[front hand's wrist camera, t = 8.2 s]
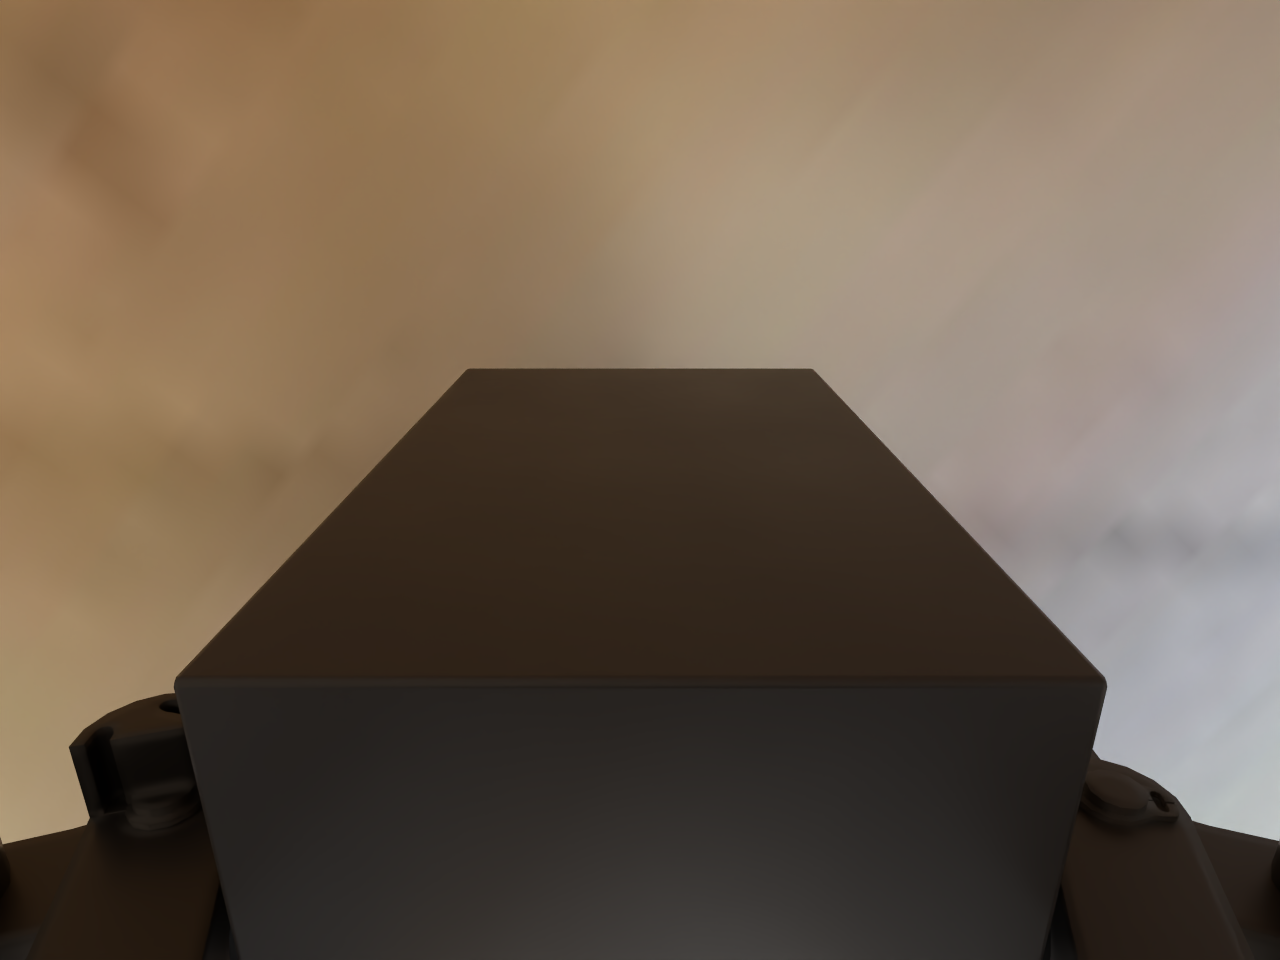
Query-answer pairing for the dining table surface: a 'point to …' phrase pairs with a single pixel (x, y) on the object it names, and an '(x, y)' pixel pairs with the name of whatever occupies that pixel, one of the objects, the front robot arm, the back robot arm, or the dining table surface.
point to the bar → (640, 695)
